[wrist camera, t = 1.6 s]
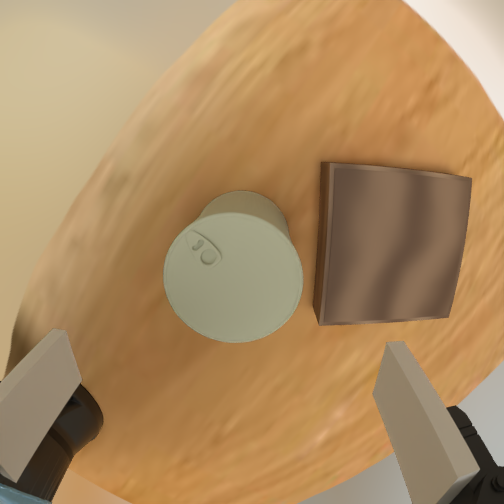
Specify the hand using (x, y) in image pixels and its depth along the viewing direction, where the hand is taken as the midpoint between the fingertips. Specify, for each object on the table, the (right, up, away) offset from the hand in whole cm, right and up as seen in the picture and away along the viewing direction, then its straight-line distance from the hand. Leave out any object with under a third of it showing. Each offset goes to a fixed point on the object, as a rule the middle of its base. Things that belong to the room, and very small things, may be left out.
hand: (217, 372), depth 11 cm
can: (0, +6, +20) cm, 21 cm away
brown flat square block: (+15, +6, +19) cm, 25 cm away
